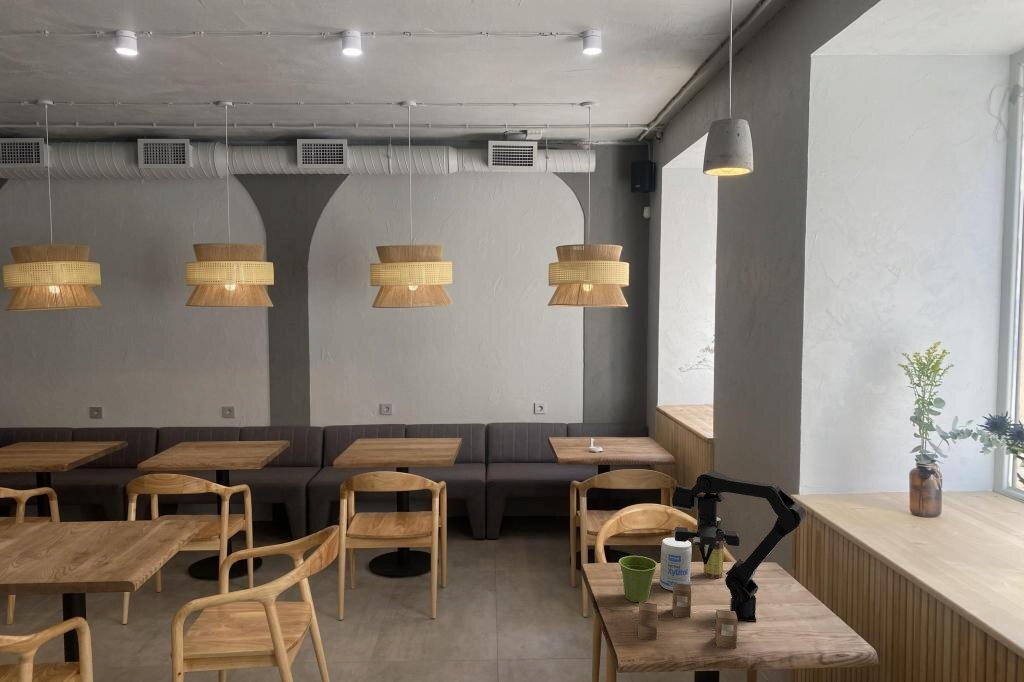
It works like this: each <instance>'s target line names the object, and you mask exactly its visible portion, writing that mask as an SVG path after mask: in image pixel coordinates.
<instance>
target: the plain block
mask: <svg viewBox="0 0 1024 682" xmlns="http://www.w3.org/2000/svg"><path fill="white" fill-rule="evenodd" d="M637 619H638V621H637V639H644V640H653V641H656V640H658V639H657V637H658V636H657V633H658V603H652V602H638V618H637Z"/></svg>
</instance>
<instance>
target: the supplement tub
mask: <svg viewBox="0 0 1024 682" xmlns="http://www.w3.org/2000/svg"><path fill="white" fill-rule="evenodd" d="M661 542H662V543H661V549H660V551H661V552H660V569H659V570H660V571H659V584H660V586H661V587H662V588H663V589H666V590H668V591H671V592H673V583H677V584H688V585H690V586H691V571H692V569H691V567H692V542H691V541H689V539H688V540H687V541H686V542H681V541H675V537H666V538H663V539H662V541H661Z"/></svg>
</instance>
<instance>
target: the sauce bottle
mask: <svg viewBox="0 0 1024 682" xmlns="http://www.w3.org/2000/svg"><path fill="white" fill-rule="evenodd" d="M721 523H722V519H721V518H720V517H718V516H717V528H719V529H721ZM706 548H707V545H704V549H705V555H706ZM724 548H725V547H724V541H721V542H720V541H719V547H715V548H714V549H713V551H712V553H711V555H710V557H709V560H708V562H707V564H704V563H703V573H704V576H705V577H708V578H711V579H720V578H723V572H724Z"/></svg>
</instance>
